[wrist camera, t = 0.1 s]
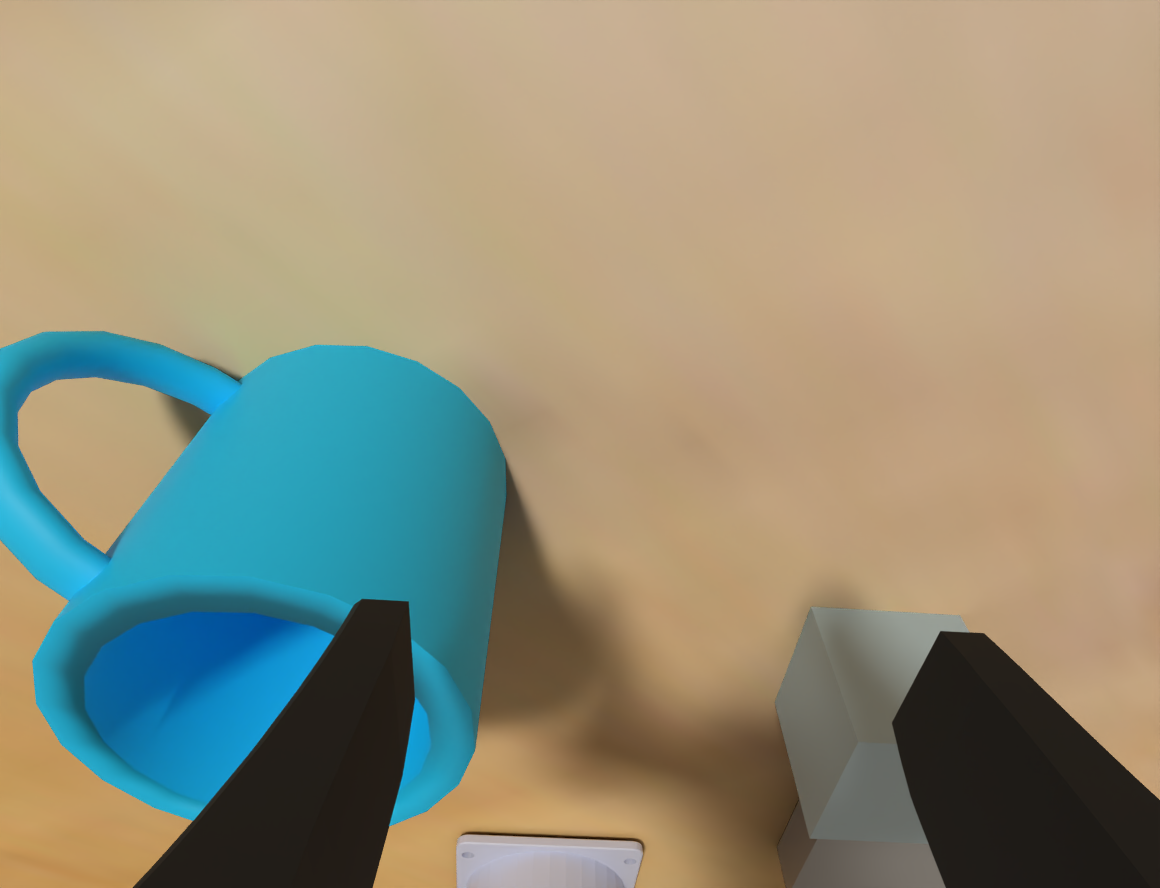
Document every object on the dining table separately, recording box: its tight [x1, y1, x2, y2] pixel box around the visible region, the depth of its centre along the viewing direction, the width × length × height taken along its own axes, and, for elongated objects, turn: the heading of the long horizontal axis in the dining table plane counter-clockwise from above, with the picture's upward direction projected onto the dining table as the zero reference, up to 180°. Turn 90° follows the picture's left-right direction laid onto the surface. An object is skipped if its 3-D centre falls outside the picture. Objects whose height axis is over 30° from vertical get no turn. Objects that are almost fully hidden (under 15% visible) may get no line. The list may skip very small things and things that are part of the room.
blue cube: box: [775, 607, 970, 844], centre depth 24 cm, size 5×5×5 cm
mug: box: [0, 331, 507, 826], centre depth 17 cm, size 12×8×8 cm
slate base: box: [777, 799, 946, 888], centre depth 29 cm, size 9×9×2 cm
